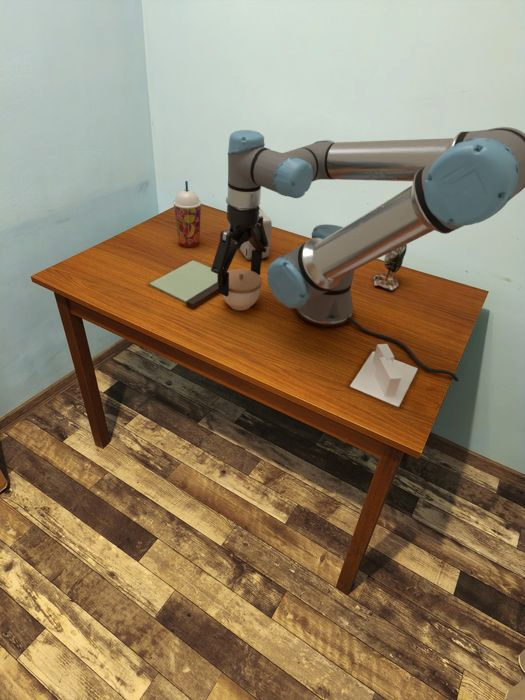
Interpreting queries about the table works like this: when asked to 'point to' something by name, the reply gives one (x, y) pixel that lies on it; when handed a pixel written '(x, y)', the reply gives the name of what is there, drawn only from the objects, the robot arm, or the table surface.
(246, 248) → the radio
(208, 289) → the divider
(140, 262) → the table surface
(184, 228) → the smoothie
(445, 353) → the table surface
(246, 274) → the trinket box
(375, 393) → the napkin holder
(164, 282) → the mat
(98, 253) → the table surface
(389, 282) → the plant with pod
